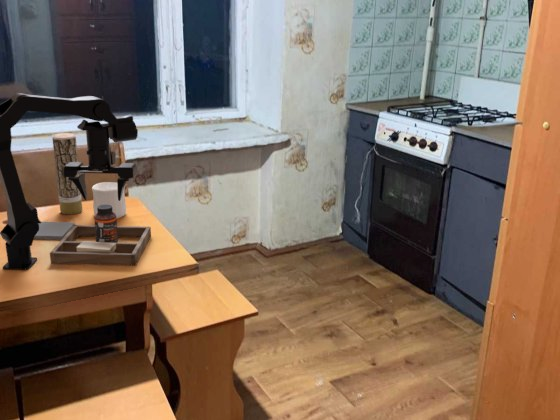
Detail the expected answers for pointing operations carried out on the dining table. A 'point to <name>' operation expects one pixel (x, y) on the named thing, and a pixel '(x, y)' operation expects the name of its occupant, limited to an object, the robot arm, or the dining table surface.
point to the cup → (109, 197)
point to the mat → (53, 230)
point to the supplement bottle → (105, 224)
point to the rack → (123, 256)
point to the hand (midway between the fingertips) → (102, 200)
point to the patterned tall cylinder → (66, 188)
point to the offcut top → (96, 247)
